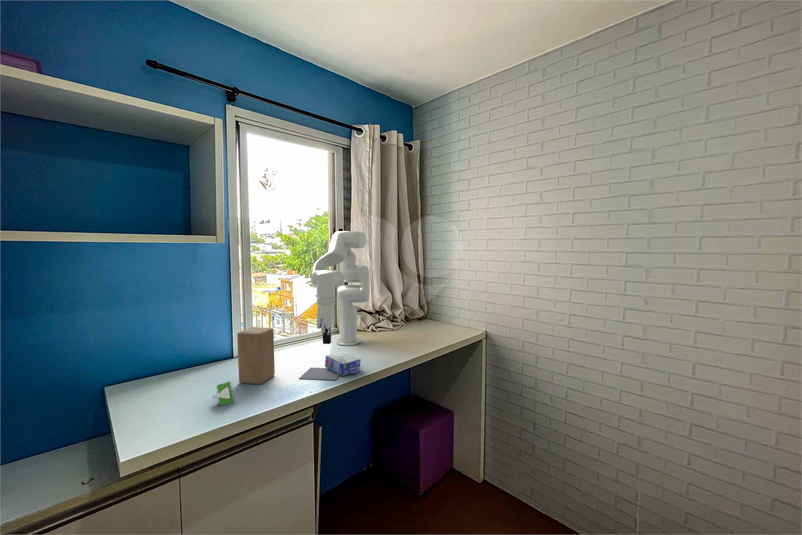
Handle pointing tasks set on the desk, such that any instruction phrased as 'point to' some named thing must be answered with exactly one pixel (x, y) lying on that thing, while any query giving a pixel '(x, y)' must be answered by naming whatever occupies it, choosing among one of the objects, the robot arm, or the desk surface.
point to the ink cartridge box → (342, 363)
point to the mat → (320, 374)
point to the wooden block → (256, 355)
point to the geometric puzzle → (225, 393)
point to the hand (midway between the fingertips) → (327, 343)
